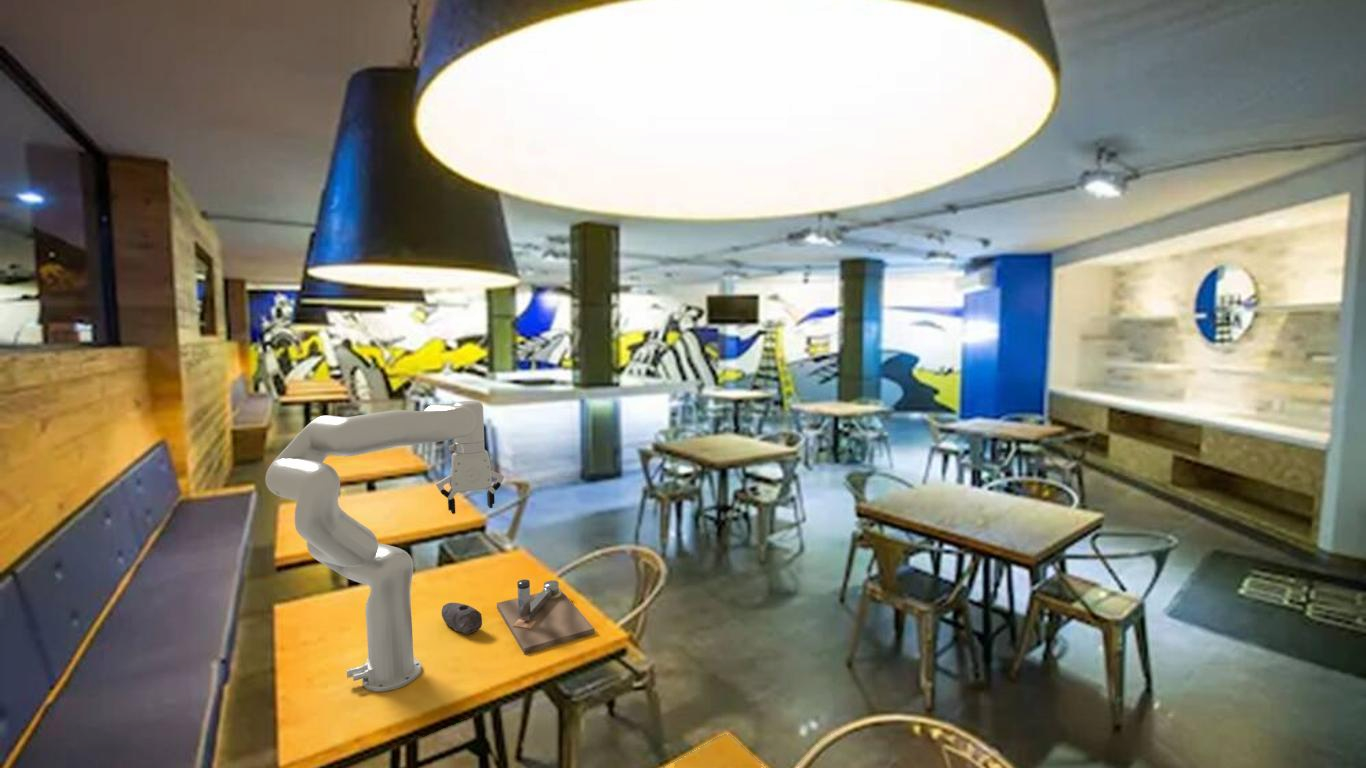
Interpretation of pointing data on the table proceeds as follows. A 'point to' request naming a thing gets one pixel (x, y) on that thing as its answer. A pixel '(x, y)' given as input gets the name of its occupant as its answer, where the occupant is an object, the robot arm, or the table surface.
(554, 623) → the board
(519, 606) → the press lever
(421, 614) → the table surface
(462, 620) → the perforated stone tool
